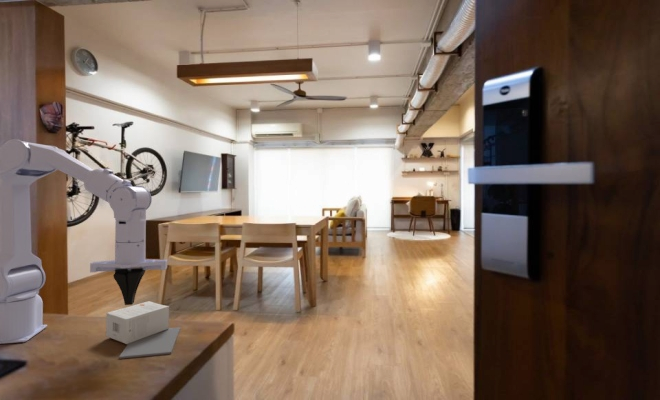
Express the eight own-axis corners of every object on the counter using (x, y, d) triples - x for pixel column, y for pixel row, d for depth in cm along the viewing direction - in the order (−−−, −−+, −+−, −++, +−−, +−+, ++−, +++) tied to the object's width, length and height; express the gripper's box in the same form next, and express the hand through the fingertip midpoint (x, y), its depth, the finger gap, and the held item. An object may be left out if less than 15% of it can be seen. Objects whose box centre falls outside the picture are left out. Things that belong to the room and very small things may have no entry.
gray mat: (137, 332, 82) (137, 330, 82) (180, 328, 85) (180, 327, 85) (119, 358, 69) (119, 356, 69) (171, 353, 72) (171, 351, 72)
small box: (125, 345, 74) (169, 329, 84) (126, 318, 74) (170, 305, 84) (105, 337, 78) (149, 322, 88) (105, 312, 78) (149, 300, 88)
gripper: (84, 244, 70) (83, 311, 70) (163, 243, 74) (162, 306, 74) (97, 240, 77) (96, 301, 77) (169, 239, 81) (168, 297, 81)
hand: (129, 303), depth 76 cm, fingers closed
